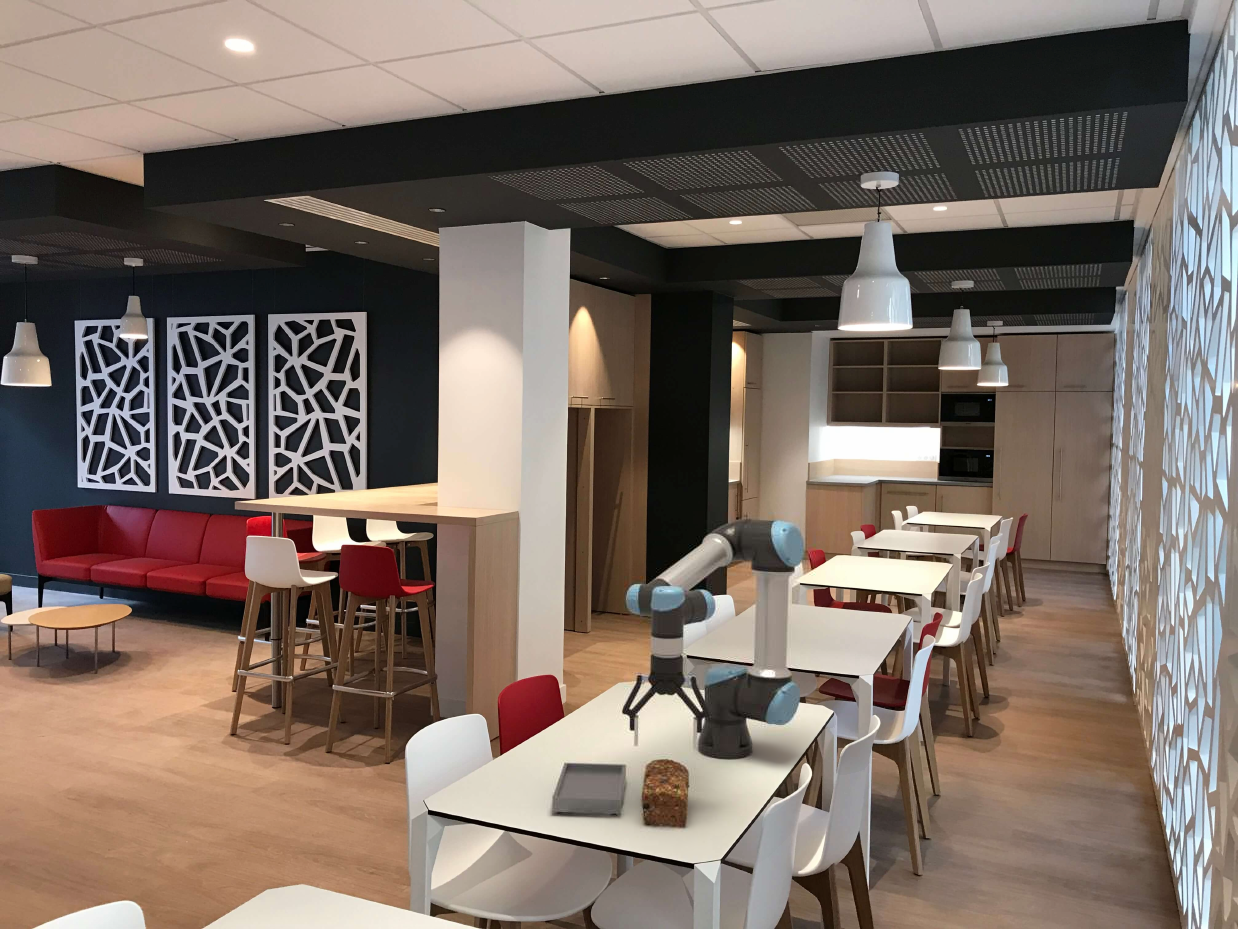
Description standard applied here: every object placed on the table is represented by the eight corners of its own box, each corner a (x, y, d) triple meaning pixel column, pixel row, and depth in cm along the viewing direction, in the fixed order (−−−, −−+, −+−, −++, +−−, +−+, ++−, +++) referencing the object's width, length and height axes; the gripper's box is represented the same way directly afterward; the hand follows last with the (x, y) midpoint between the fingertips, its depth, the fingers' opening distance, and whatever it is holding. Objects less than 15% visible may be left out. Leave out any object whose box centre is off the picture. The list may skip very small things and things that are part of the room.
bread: (645, 796, 232) (646, 755, 232) (689, 798, 231) (690, 757, 231) (640, 827, 214) (640, 783, 214) (688, 829, 213) (688, 785, 213)
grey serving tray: (625, 781, 242) (626, 764, 242) (620, 818, 219) (620, 799, 218) (564, 779, 243) (564, 762, 243) (552, 815, 219) (552, 797, 219)
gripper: (720, 652, 225) (718, 742, 225) (614, 649, 226) (612, 738, 227) (721, 659, 217) (720, 752, 218) (611, 656, 219) (610, 748, 219)
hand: (665, 745), depth 222 cm, fingers open, 13 cm apart
